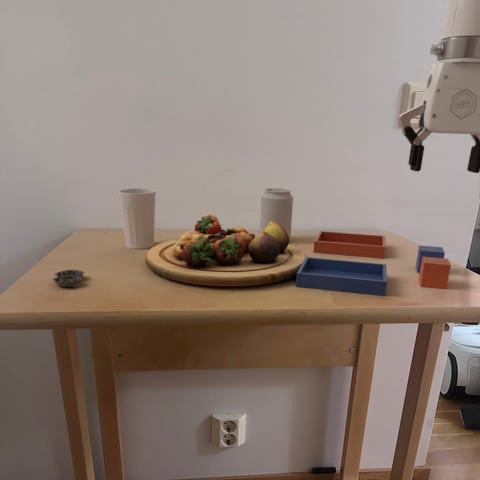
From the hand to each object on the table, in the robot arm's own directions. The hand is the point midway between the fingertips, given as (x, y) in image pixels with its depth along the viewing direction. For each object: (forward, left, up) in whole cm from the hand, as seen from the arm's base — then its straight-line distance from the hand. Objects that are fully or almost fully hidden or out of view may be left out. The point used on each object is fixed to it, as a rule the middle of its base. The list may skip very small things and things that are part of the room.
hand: (444, 171), depth 80 cm
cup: (+60, -9, -20) cm, 64 cm away
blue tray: (+14, +3, -20) cm, 25 cm away
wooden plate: (+38, -1, -20) cm, 43 cm away
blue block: (-2, -10, -20) cm, 22 cm away
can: (+32, -25, -20) cm, 46 cm away
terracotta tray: (+14, -22, -20) cm, 33 cm away
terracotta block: (-2, -1, -20) cm, 20 cm away
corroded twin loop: (+60, +19, -20) cm, 66 cm away
